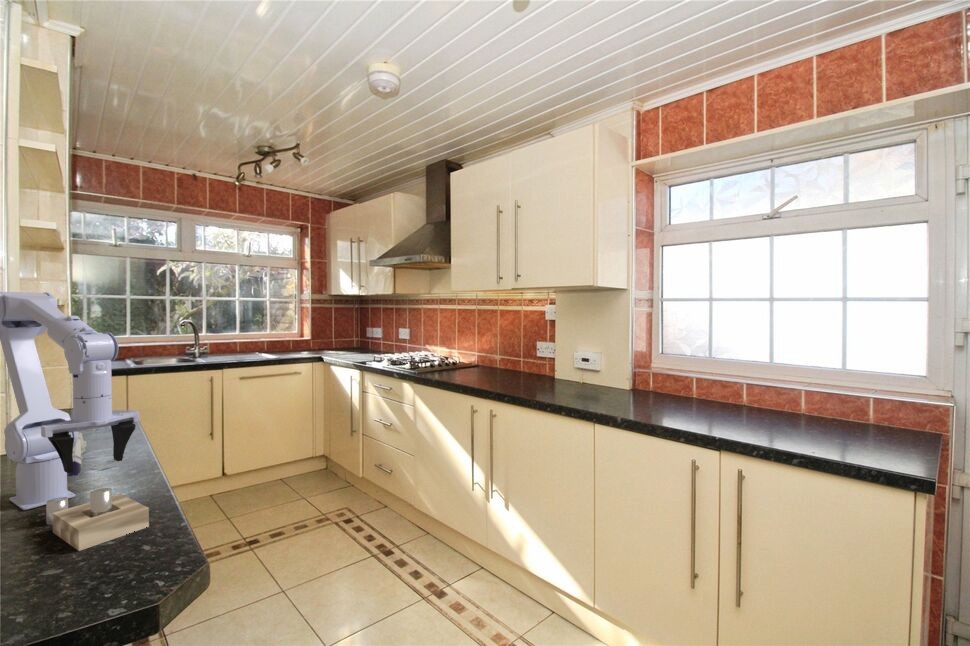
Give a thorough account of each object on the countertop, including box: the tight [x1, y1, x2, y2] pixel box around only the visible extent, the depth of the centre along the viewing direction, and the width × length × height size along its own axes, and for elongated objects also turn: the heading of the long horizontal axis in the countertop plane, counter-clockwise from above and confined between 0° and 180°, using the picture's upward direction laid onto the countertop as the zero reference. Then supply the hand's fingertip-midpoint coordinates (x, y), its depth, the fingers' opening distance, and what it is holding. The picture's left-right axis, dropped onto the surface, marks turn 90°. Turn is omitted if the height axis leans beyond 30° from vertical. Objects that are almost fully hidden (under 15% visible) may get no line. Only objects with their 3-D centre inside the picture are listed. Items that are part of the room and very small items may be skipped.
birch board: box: [52, 493, 150, 552], centre depth 82 cm, size 12×10×4 cm
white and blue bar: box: [67, 431, 88, 477], centre depth 118 cm, size 5×7×25 cm
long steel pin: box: [89, 487, 113, 518], centre depth 82 cm, size 3×3×7 cm
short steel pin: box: [45, 497, 69, 526], centre depth 85 cm, size 3×3×4 cm
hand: (94, 465), depth 88 cm, fingers open, 7 cm apart
